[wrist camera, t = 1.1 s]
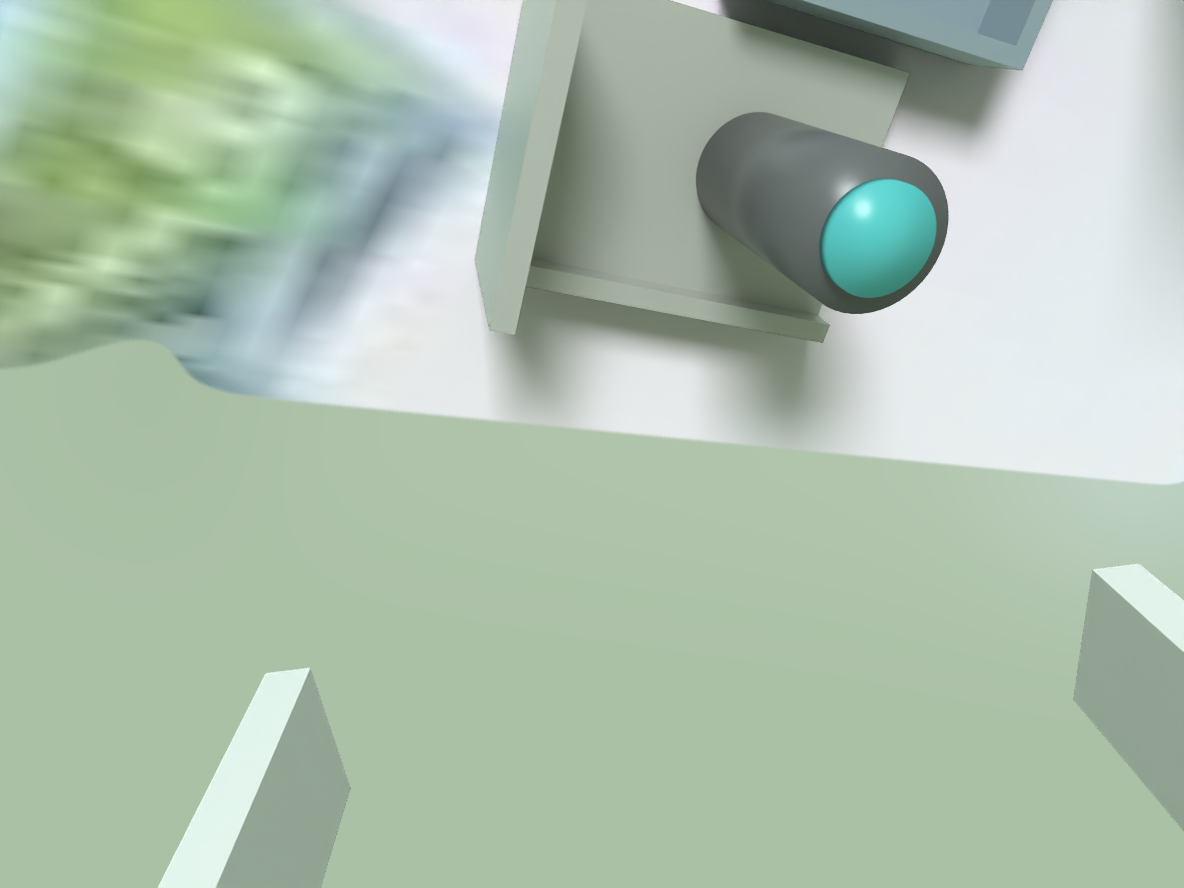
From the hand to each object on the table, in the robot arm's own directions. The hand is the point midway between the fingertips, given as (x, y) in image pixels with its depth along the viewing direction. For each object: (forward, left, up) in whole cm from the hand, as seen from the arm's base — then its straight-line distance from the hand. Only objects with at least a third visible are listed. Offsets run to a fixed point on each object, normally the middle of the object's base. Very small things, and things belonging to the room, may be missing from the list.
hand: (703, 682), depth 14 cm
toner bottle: (+10, +6, -28) cm, 31 cm away
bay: (+7, +5, -30) cm, 31 cm away
